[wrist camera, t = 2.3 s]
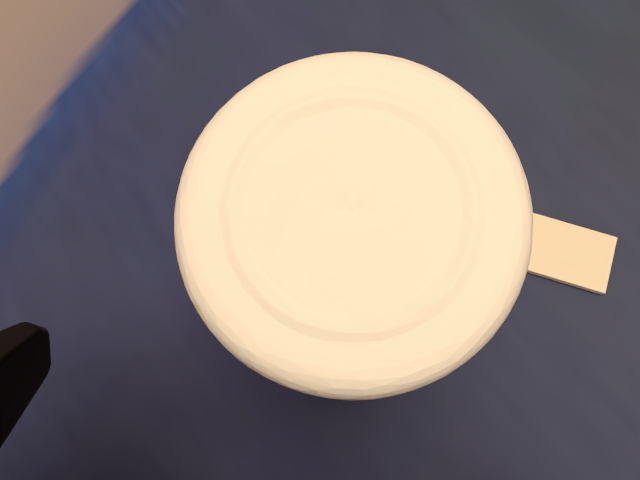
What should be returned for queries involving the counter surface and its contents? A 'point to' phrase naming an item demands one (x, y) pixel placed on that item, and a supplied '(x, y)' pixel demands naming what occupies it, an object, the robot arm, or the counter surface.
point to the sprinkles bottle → (353, 225)
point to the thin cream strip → (571, 254)
